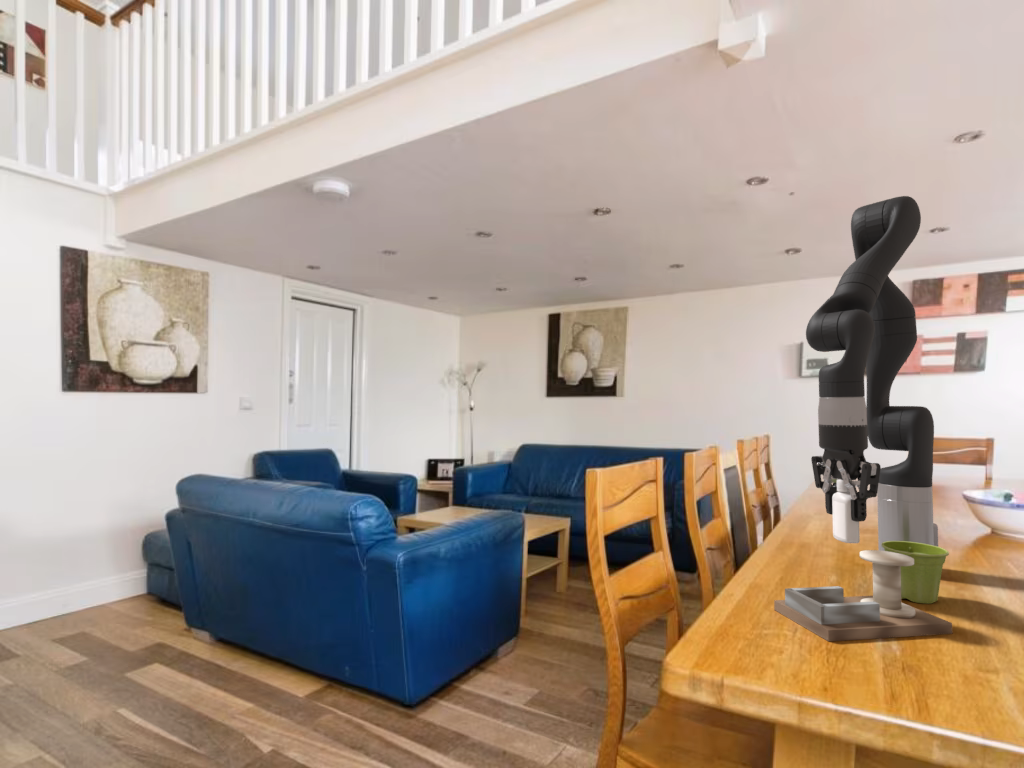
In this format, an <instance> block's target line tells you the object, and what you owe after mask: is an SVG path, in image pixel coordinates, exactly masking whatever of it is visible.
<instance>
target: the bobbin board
mask: <svg viewBox="0 0 1024 768" xmlns="http://www.w3.org/2000/svg"><path fill="white" fill-rule="evenodd" d="M859 558H860V559H861V560H864V561H866V562H869V563H872V595H862V596H861V595H860V596H858V595H855V596H844V595H845V594H844V587H841V586H839V585H837V586H835V585H833V586H818V587H817V586H816V587H815V586H814V587H812V586H811V587H810V586H809V587H788V588H784V599H777V600H776V599H775V600H774V601H773V603H774V608H773V609H774V611H776V612H777V613H779V614H780V615H782V616H784V617H786V618H788V619H789V620H790V621H793V622H795V623H796V624H798V625H799V626H801V627H803V628H805V629H807V630H808V631H809V632H812V633H813V634H815V635H816V636H818V637H821V639H823V640H825V641H827V642H839V641H855V640H856V641H857V640H870V639H872V640H875V639H886V638H887V639H888V638H889V639H890V638H901V637H902V638H904V637H906V638H907V637H919V636H921V637H922V636H934V635H951V634H953V622H950V621H948V620H946V619H943V618H941V617H939V616H936V615H934V614H932V613H928V612H926V611H924V610H921V609H919V608H916V607H914V606H911V605H910V604H906V603H904V602H902V599H901V566H912V565H914V559H913V558H912V557H910V556H907V555H904V554H899V553H895V552H889V551H880V550H879V549H865V550H861V551H859Z"/></svg>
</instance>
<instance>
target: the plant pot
mask: <svg viewBox="0 0 1024 768" xmlns="http://www.w3.org/2000/svg"><path fill="white" fill-rule="evenodd" d="M881 545H882V547H883V548H884V550H885V551H889V552H895V553H899V554H904V555H907V556H910V557H912V558H913V559H914V565H912V566H901V600H902V599H907V600H909V601H910V602H913V603H916V604H926V605H929V604H934V603H935V602H938V599H939V592H940V585H941V579H942V578H941V577H942V573H943V567H944V564H945V563H946V557H948V556H949V555H950V552H949V550H947V549H945V548H943V547H941V546H938V547H937V546H933V545H928V544H923V543H916V542H907V541H886V542H883V543H882V544H881Z"/></svg>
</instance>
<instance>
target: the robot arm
mask: <svg viewBox="0 0 1024 768" xmlns="http://www.w3.org/2000/svg"><path fill="white" fill-rule="evenodd" d="M921 218H922V217H921V210H920V207H919V204H918V203H917V201H916V200H915V199H914V198H913V197H912V196H909V195H901V196H895V197H892V198H889V199H884V200H882V201H877V202H873V203H869V204H866V205H862V206H860V207H858V208H856V209H855V210H854V212H853V213H852V215H851V220H850V221H851V222H850V231H851V242H852V248H853V253H854V258H855V259H854V261H853V263H851V264H850V265H849V266H848V267H847V269H846V270H845V271H844V272H843V274H842V275H841V277H840V279H839V281H838V283H837V285H836V287H835V289H834V292H833V294H831V296H830V297H828V299H826V300H825V301H824V302H823V304H822V305H821V306H819V308H818V309H817V310H816V311H814V313H813V314H812V316H811V317H810V319H809V320H808V323H807V326H806V329H805V338H806V342H807V344H808V345H809V346H810V348H811V349H813V350H815V351H817V352H823V353H826V352H837V351H838V352H839V351H841V352H842V351H845V352H844V354H843V356H842V358H841V359H840V360H838V361H836V362H835V363H830V364H826V365H824V366H822V367H821V368H820V369H819V371H818V395H819V396H818V400H819V401H818V408H817V418H818V420H817V422H818V446H819V448H821V449H824V451H823V454H822V455H815V456H814V455H812V456H811V466H812V471H813V477H814V483H815V487H816V488H817V489H821V490H822V492H823V493H824V501H825V505H824V506H825V512H826V514H827V515H832V496H833V494H834V493H836V492H838V491H837V479H842V480H843V482H844V485H845V486H846V487H848V489H849V492H850V495H851V498H852V499H851V519H852V520H853V521H856V522H859V523H860V522H865V521H866V519H867V516H868V515H867V513H868V512H867V500H868V499H871V498H876V497H877V498H876V499H877V537H878V539H877V541H878V542H877V543H878V550H880V551H885V550H884V548H883V547H882V545H881V544H882V543H883V542H886V541H907V542H916V543H923V544H928V545H933V546H937V547H939V526H938V524H937V523H934V501H933V498H934V497H933V495H934V494H933V474H934V473H933V472H934V439H935V423H934V418H933V414H932V412H931V410H929V408H927V407H926V406H922V405H921V406H920V405H919V406H918V405H916V406H915V405H890V395H891V389H892V385H893V383H894V381H895V379H896V377H897V375H898V373H899V372H900V370H901V369H902V367H904V365H905V362H907V360H908V358H909V357H910V356H911V354H912V352H913V351H914V348H915V346H916V344H917V342H918V333H917V317H916V310H915V306H914V305H913V303H912V301H911V300H910V299H909V297H908V296H907V295H906V294H905V293H904V292H903V291H902V289H901V288H899V287H898V286H897V285H896V284H895V282H894V281H892V279H891V278H890V277H889V274H890V273H891V272H892V271H893V269H894V267H895V266H896V265H897V263H898V262H899V261H900V260H901V258H902V257H903V255H904V254H905V253H906V251H907V250H908V249H909V247H910V246H911V244H912V243H913V242H914V240H915V238H916V237H917V235H918V232H919V231H920V227H921V223H922V222H921V221H922V219H921ZM865 373H866V375H865ZM865 376H866V391H865ZM865 392H866V397H865ZM869 443H870V445H871V446H872V448H875V449H877V450H881V451H882V450H883V451H900V452H908V454H907V457H906V459H905V460H903V461H901V462H899V463H897V464H895V465H889V466H886V467H881V464H880V463H878V462H869V461H867V460H866V458H865V453H864V452H865V450H868V448H869ZM822 476H823V477H822ZM822 479H823V481H822ZM857 489H858V490H857Z"/></svg>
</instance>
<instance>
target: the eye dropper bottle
mask: <svg viewBox="0 0 1024 768" xmlns="http://www.w3.org/2000/svg"><path fill="white" fill-rule="evenodd" d="M837 491H838V492H836V493H834V494H833V496H832V536H833V538H834V539H835V540H837V541H838V542H842V543H845V544H859V543H860V540H861V539H860V521H859V522H856V521H853V520H852V519H851V499H852V498H851V495H850V492H849V489H848V487H846V486H845V485H844V482H843V480H842V479H837Z"/></svg>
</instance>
